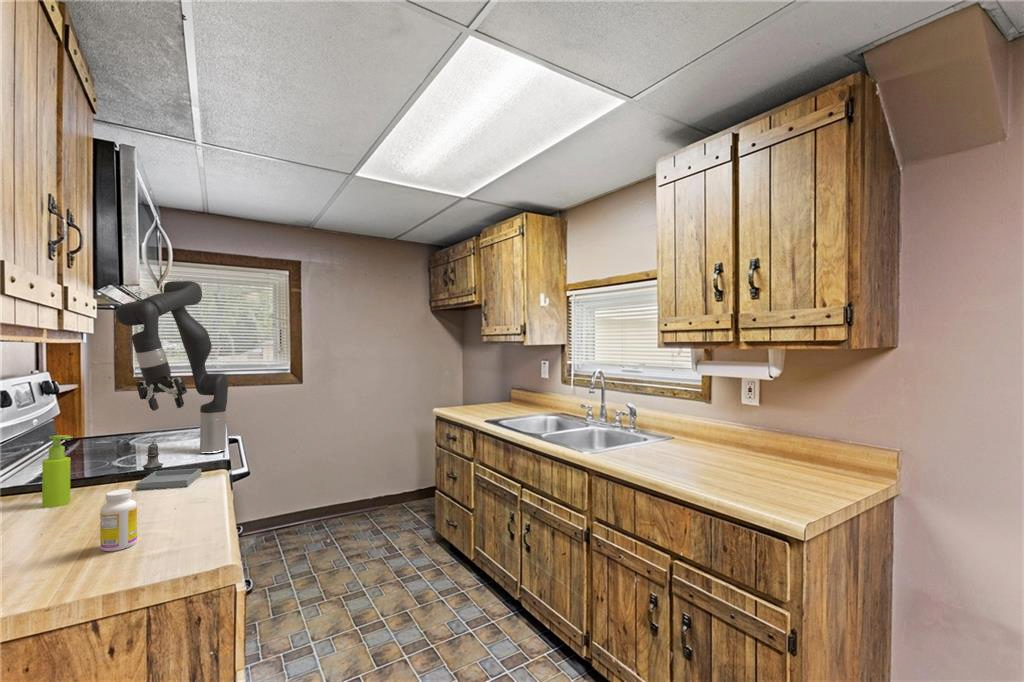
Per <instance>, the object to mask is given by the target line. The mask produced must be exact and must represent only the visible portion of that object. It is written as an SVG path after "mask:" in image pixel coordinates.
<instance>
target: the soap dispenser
mask: <svg viewBox="0 0 1024 682" xmlns="http://www.w3.org/2000/svg"><path fill="white" fill-rule="evenodd" d="M73 438H74V436H71V435H68V434H67V435H65V434H64V435H63V434H62V435H61V434H57V435H52V436H48V439H49V440H51V439H52V446H51V447H49V448H48V458H46V459H43V460H42V462H41V463H42V470H41V471H42V475H41V476H42V477H41V478H42V481H41V482H42V484H41V485H42V487H41V488H42V491H41V492H42V498H41V500H42V501H41V503H42V506H43V507H42V506H41V507H42V508H44V507H51V508H54V507H53V506H58V507H61V506H60V505H62V506H65V505H64V504H66V505H68V504H70V503H71V457H69V456H65V453H66V452H65V451H66V449H65V447H66V446H64V445H63V444H62V443H61V442H62V441H61V440H65V441H66V440H70V439H73ZM69 502H70V503H69ZM67 503H68V504H67Z"/></svg>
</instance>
